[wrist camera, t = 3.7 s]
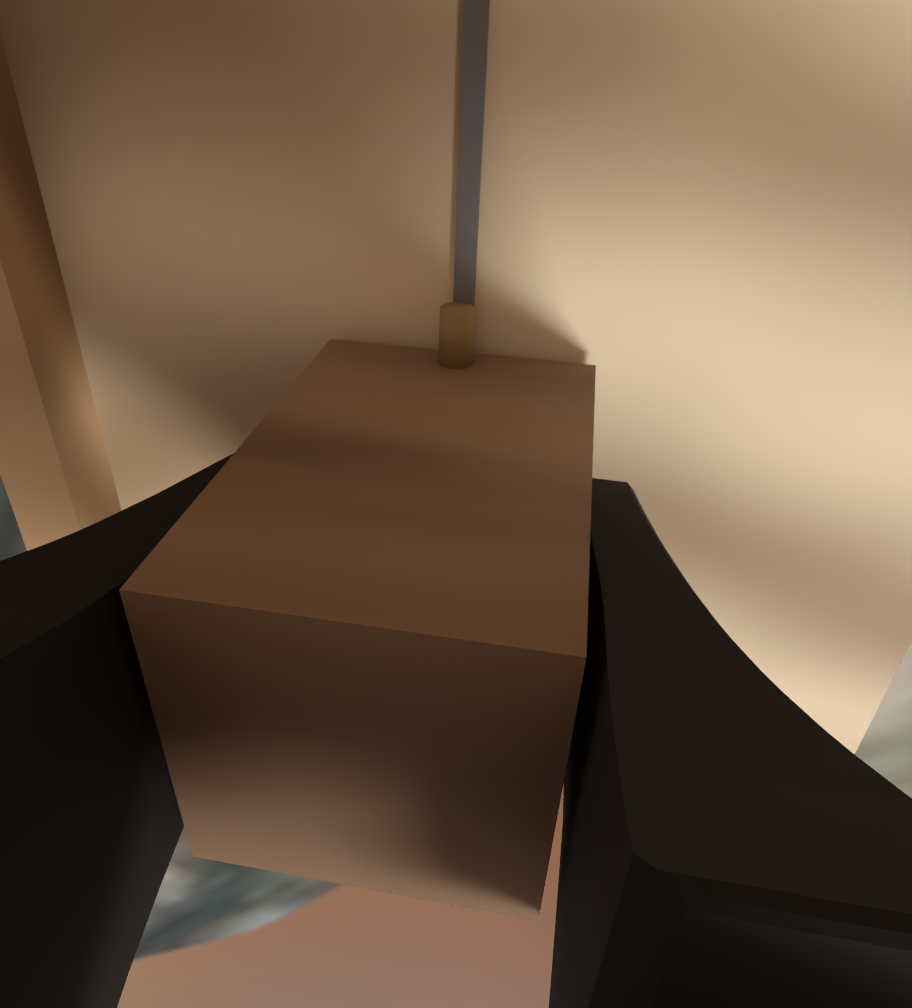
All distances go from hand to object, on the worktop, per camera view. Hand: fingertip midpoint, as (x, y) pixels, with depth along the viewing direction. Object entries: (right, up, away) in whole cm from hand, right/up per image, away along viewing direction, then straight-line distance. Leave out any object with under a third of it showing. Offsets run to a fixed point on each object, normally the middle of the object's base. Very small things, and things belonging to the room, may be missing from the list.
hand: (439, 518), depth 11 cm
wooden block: (0, +1, +1) cm, 2 cm away
